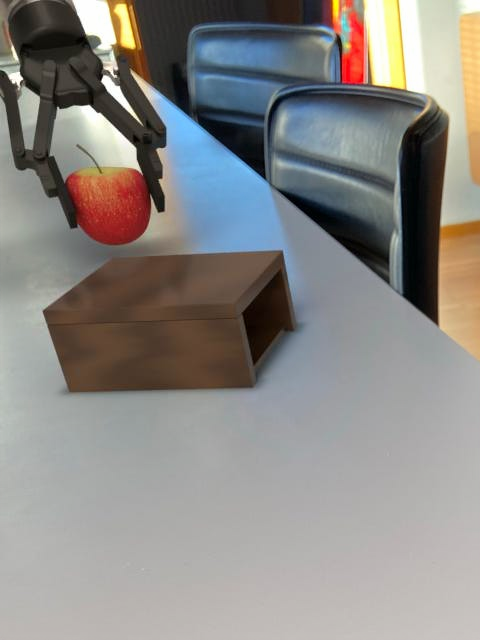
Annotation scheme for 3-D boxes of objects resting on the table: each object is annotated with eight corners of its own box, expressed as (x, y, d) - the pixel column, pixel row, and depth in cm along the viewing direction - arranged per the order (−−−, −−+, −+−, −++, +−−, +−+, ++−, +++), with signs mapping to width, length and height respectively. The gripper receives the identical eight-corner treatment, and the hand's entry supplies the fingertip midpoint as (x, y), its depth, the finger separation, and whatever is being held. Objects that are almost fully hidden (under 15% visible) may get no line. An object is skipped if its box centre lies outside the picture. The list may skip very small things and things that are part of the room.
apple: (79, 239, 112) (50, 140, 106) (157, 227, 114) (133, 129, 108) (81, 258, 106) (51, 154, 100) (163, 245, 108) (138, 142, 102)
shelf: (69, 393, 85) (41, 310, 81) (133, 333, 96) (112, 257, 92) (253, 388, 83) (234, 303, 78) (297, 327, 94) (282, 249, 90)
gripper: (143, 39, 115) (215, 215, 113) (-56, 64, 107) (16, 253, 105) (142, -15, 108) (218, 171, 106) (-71, 7, 100) (6, 208, 98)
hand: (117, 212), depth 105 cm, fingers closed on apple, 8 cm apart
